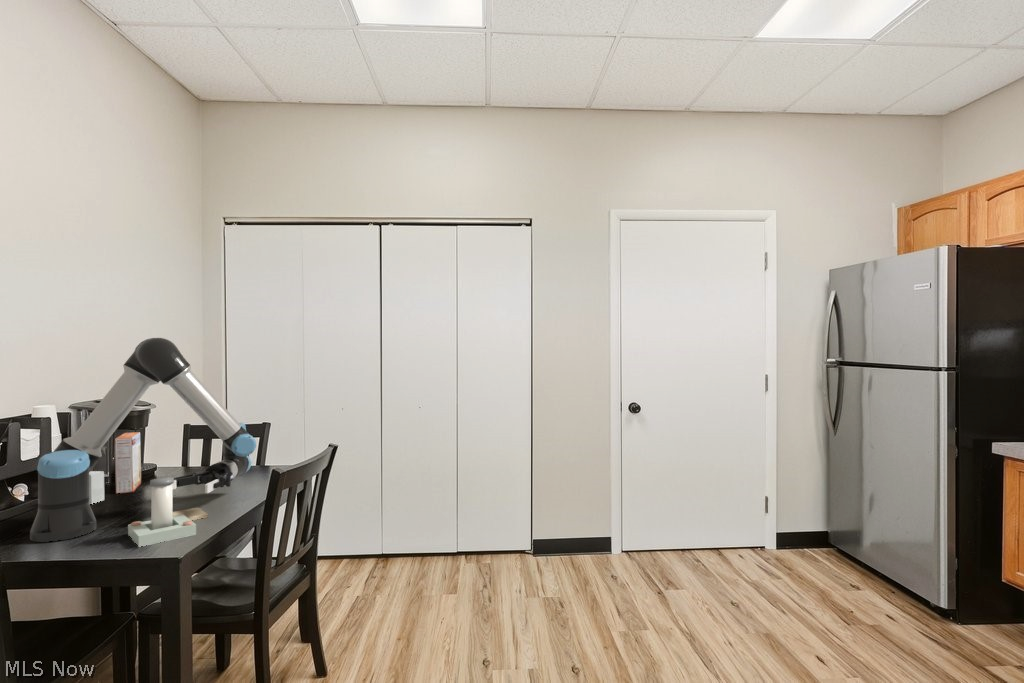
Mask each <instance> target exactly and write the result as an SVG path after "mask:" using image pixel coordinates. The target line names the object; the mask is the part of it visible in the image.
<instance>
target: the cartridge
mask: <svg viewBox="0 0 1024 683" xmlns="http://www.w3.org/2000/svg"><path fill="white" fill-rule="evenodd" d="M174 478H175V477H171V476H168V477H165V476H164V477H158V478H157V477H156V478H154V479H153V478H152V479H150V480H149V486H150V487H151V489H150V490H151V492H150V494H151V496H150V497H151V499H150V500H151V501H150V502H151V505H150V506H151V508H150V509H151V511H150V512H151V516H150V517H151V518H150V520H151V530H155V529H160V528H165V527H169V526H173V512H174V510H173V508H174V507H173V504H174V503H173V499H174V498H173V492H174V490H173V483H174Z"/></svg>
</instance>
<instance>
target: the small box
mask: <svg viewBox="0 0 1024 683" xmlns="http://www.w3.org/2000/svg"><path fill="white" fill-rule="evenodd" d="M100 501H101V502H103V501H105V472H104V471H103V470H102V471H101V470H98V471H97V470H94V471H93V470H91V471H90V472H89V504H92V505H94V504H93V503H95V504H97V502H98V503H100Z"/></svg>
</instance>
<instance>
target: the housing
mask: <svg viewBox="0 0 1024 683" xmlns="http://www.w3.org/2000/svg"><path fill="white" fill-rule="evenodd" d="M127 532H128V533H127V535H128V537H129V536H130V537H131V538H132V539H131V538H130V537H129V538H130V539H131V541H132V542H133V543H134V544H135V543H136V544H137V545H138V546H137V545H136V544H135V545H136V546H137V547H138V548H142V547H141V546H143V547H146V545H147V546H150V545H151V546H152V545H156V544H159V543H160V542H161V543H165V542H169V541H170V542H171V541H174V540H178V539H183V538H187V537H192V536H196V535H197V523H195V522H194V520H193V521H191V520H190V519H188V518H187V517H186V516H184V515H183V514H181V515H176V516H173V526H169V527H165V528H160V529H155V530H151V519H150V520H146V521H141V520H138V521H133V522H131V523H130V524H128V525H127ZM164 541H165V542H164Z"/></svg>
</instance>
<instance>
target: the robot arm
mask: <svg viewBox="0 0 1024 683" xmlns="http://www.w3.org/2000/svg"><path fill="white" fill-rule="evenodd" d="M122 366H123V370H124V371H123V373H122V375H121V376H120V377H119V378H118V379H117V381H116V382H115V383H114V384H113V385H112V387H111V388H110V389H109V390H108V392H107V393H106V394H105V395H104V396H103V398H102V399H101V401H100V402H99V403H97V405H96V407H95V408H94V409H93V411H92V412H90V414H89V415H88V417H87V418H86V419H85V421H84V422H83V423H82V424H81V425H80V427H79V428H78V429H77V430H76V432H75V433H74V434H73V435H72V436H69V437H66V438H63V439H62V440H61V442H59V444H58V446H56V447H55V449H54V450H53V451H52V452H49V453H46V454H44V455H42V456H41V457H39V460H38V462H37V463H38V464H37V469H36V471H37V480H38V481H37V513H36V516H35V518H34V520H33V523H32V525H31V528H30V531H29V540H30V541H31V542H35V543H50V542H49V541H53V542H59V541H58V540H61V541H65V540H71V539H75V538H74V537H76V538H79V537H82V536H81V535H83V536H86V535H88V534H90V532H91V533H92V531H93V530H94V531H96V529H97V519H96V516H95V514H94V512H93V510H92V507H91V505H90V504H89V472H90V471H93V468H94V467H95V466H96V465H97V463H98V462H99V461H100V460H101V458H102V457H103V455H102V448H103V446H104V445H105V444H106V443H107V441H108V440H109V439H110V438H111V437H112V435H113V434H114V433H115V431H116V430H117V429H118V428H119V426H120V425H121V424H122V423H123V421H124V420H125V418H126V417H127V416H128V414H130V413H131V411H132V409H133V408H134V406H136V405H137V403H138V402H139V401H140V399H142V397H143V396H144V395H145V393H146V391H147V390H148V389H149V388H150V387H151V386H154V385H158V384H159V383H160V382H161V383H162V384H163V385H166V386H167V385H168V386H169V387H170V388H172V390H173V391H174V392H175V393H176V394H177V395H178V396H179V397H180V398H181V399H182V400H183V401H184V402H185V403H186V404H187V405H188V407H190V408H191V409H192V411H193V412H195V414H196V415H197V416H198V417H199V418H200V419H201V420H202V421H203V422H204V423H205V424H206V425H207V426H208V427H209V428H210V429H211V430H212V432H213V433H214V434H215V435H216V436H217V437H218V438H219V439H220V440H221V441H222V446H223V447H222V448H223V450H222V451H223V458H222V459H223V460H221V461H217V462H216V463H213V464H211V465H209V466H207V467H206V469H205V471H203V472H200V473H196V472H192V473H190V474H186V475H185V474H184V475H181V476H177V477H173V478H174V483H173V491H175V490H176V489H177V488H180V487H185V486H190V485H197V486H198V485H204V493H205V494H209V493H211V492H213V491H215V490H217V489H219V488H223V487H227V488H229V487H231V484H232V483H231V482H232V481H233V480H234V479H235V478H238V477H241V476H243V475H245V474H246V473H247V472H248V471H249V470H251V466H252V460H251V458H250V455H251V454H253V453H254V452H255V450H256V448H257V442H256V439H255V438H254V436H253V435H251V434H250V433H249V432H248V431H247V428H246V427H247V426H246V424H245V423H243V422H239V421H238V420H237V419H236V418H235V417H234V415H232V414H231V412H229V411H228V409H227V408H226V407H225V406H224V405H223V404H222V403H221V402H220V401H219V399H218V398H217V397H216V396H215V395H214V394H213V393H212V392H211V390H209V389H208V387H207V386H205V384H204V383H203V382H202V381H201V380H200V378H199V377H197V375H196V374H195V373H194V372H193V371H192V370H191V367H192V365H191V364H190V363H189V362H188V361H187V359H186V358H185V357H184V355H183V354H182V353H181V351H180V350H179V349H178V347H177V345H175V344H174V342H173V341H171V340H169V339H167V338H164V337H152V338H151V337H150V338H147V339H144V340H143V341H141V342H139V343H138V344H137V346H136V347H135V348H134V351H133V352H132V354H131V355H130V356H129V358H128V359H127V360H125V363H124V364H123V365H122ZM94 531H93V532H94ZM87 533H88V534H87ZM85 534H86V535H85ZM78 536H79V537H78Z"/></svg>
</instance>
